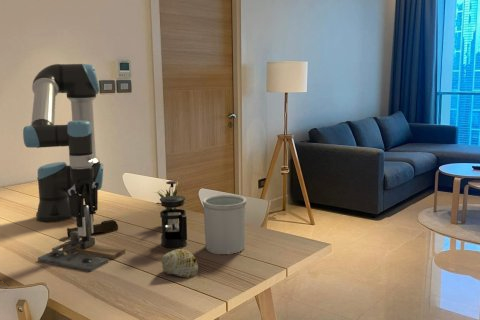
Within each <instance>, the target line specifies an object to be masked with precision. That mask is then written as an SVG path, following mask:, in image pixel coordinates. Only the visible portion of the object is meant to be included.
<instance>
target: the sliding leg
mask: <svg viewBox="0 0 480 320" xmlns="http://www.w3.org/2000/svg"><path fill="white" fill-rule="evenodd" d="M83 217H85V227H86V236H81V240H80V241H78V244H77V245H75V246H73V247H70V248H68V249H66V250H63V251H64V256H66V255H67V253H68V252H71V251H73V250H75V249H77V248H84V249H85V248H87V247H90V246H92V245H94V244H96V240H95V237H93V236H92V237H91V235H92V234H91V233H90V217H89V205H85V204H84V205H83ZM71 253H72V252H71Z"/></svg>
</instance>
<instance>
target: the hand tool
mask: <svg viewBox="0 0 480 320" xmlns="http://www.w3.org/2000/svg"><path fill="white" fill-rule="evenodd" d="M118 230H119V224H118V223H117V221H116V220H114V219H108V220H103V221H101V222H100V223H96V224H93V232H94V233H91V235H93V234H97V233H103V234H106V233H107V234H109V233H111V232H115V231H118ZM72 231H78V227H77V226H76V227H72V228H71V227H70V228H69V227H67V228H66V234H67V238H68V239H70V232H72Z"/></svg>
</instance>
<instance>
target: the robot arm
mask: <svg viewBox="0 0 480 320" xmlns="http://www.w3.org/2000/svg"><path fill="white" fill-rule="evenodd" d="M98 82H99V81H98V77H97V72H96V68H95V66H94V65H93V64H89V63H88V64H87V63H72V64H71V63H67V64H66V63H65V64H64V63H63V64H61V63H60V64H59V63H55V64H51V65H48V66H45V67H44V68H43V69H41V70H40V71H39V72H38V73H37V75H36V76H35V77H34V79H33V81H32V86H31V90H32V92H33V94H34V95H33V104H32V106H33V107H32V113H31V115H32V116H31V121H30V122H31V123H30V125H26V126H24V127H23V132H22V137H23V143H24V146H25V147H26V148H37V149H38V148H40V149H41V148H52V147H53V148H58V147H68V159H69V162H68V163H69V165H67V162H65V161H58V162H51V163H48V164H44V165H41V166H39V168H37V182H38V183H37V184H38V185H37V186H38V197H39V203H38V206H37V212H36V213H35V218H36V221H38V222H42V223H55V222H62V221H66V220H69V219H71V218H75V219H76V222H75V223H76V227H78V235H79V237H82V236H86V227H85V217H83V205H89V217H90V233H93V234H95V233H94V232H93V225H94V221H95V220H94V215H96V214H97V211H98V210H99V209H98V208H99V207H98V204H99V202H98V201H99V200H98V199H99V198H98V197H99V195H98V193H99V192H98V191H100V190H101V189H102V187H103V179H104V163H101V162H100V161H101V159H100V158H98V157H97V154H96V142H95V141H96V139H95V136H96V135H95V119H94V104H93V103H94V102H93V101H94V100H95V99H96V97H97V94H98V93H100V87H99V83H98ZM58 94H66V98H67V99H68V100H69V101H70V105H71V119H72V120H70V121H68V122H67V124H55V119H56V117H55V115H56V113H55V112H56V110H55V109H56V96H57V95H58Z"/></svg>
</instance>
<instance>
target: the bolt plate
mask: <svg viewBox="0 0 480 320" xmlns="http://www.w3.org/2000/svg"><path fill="white" fill-rule="evenodd" d="M37 262H41V263H46V264H51V265H57V266H61V267H65V268H66V267H67V268H71V269H77V270H80V271H87V272H93V271H95V270H97V269H98V268H101V267H103V266H104V265H106V264H108V263H109V258H103V257H98V256H92V255H86V254H81V253H75V252H68V253H67V255H66V256H64V250H61V249H59V250H56V252H55V253H54V254H53V253H52V251H50V252H48V253H46V254H44V255H41V256H39V257H37Z"/></svg>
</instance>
